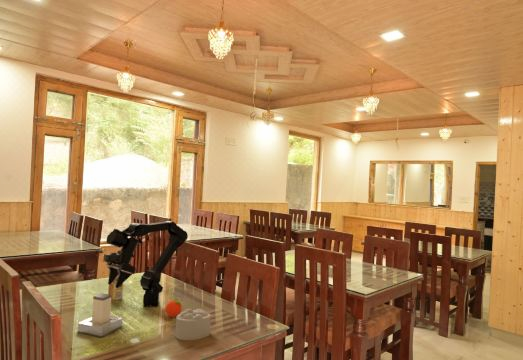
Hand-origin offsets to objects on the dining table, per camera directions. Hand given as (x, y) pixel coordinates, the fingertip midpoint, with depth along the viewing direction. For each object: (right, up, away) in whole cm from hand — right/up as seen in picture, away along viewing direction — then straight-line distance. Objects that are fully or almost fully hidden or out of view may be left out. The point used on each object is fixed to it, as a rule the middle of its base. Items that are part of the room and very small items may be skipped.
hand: (112, 285), depth 151 cm
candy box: (-9, -13, +23) cm, 28 cm away
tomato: (+26, -14, +2) cm, 30 cm away
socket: (+2, -12, -16) cm, 20 cm away
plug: (+2, -12, -16) cm, 20 cm away
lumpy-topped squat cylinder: (+37, -14, -15) cm, 42 cm away
